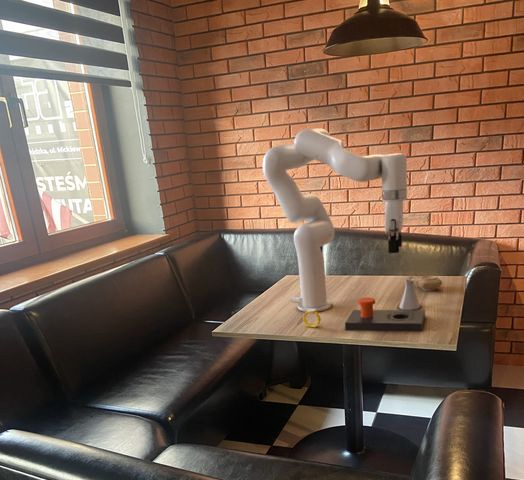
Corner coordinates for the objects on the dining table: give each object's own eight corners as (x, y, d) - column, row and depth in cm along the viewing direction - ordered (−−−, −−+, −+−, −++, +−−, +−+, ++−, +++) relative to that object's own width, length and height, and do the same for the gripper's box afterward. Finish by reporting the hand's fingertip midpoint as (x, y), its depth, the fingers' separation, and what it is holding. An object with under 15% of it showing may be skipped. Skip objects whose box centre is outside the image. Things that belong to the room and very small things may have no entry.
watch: (302, 327, 183) (301, 310, 181) (306, 324, 185) (305, 308, 183) (318, 328, 179) (317, 311, 177) (322, 326, 182) (320, 309, 179)
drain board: (345, 330, 175) (345, 322, 174) (353, 316, 187) (353, 309, 186) (421, 331, 167) (421, 323, 166) (424, 317, 179) (424, 310, 178)
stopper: (357, 318, 177) (356, 302, 175) (360, 313, 182) (359, 297, 180) (374, 318, 175) (373, 302, 173) (376, 313, 180) (376, 297, 178)
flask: (420, 310, 186) (420, 282, 183) (399, 311, 188) (399, 283, 185) (419, 304, 193) (419, 277, 190) (398, 305, 195) (398, 278, 191)
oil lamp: (407, 285, 219) (407, 273, 217) (444, 285, 213) (444, 273, 211) (402, 292, 210) (402, 280, 208) (441, 292, 204) (441, 279, 202)
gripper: (385, 193, 177) (386, 245, 183) (379, 199, 162) (380, 255, 168) (408, 191, 175) (409, 244, 181) (404, 197, 159) (405, 254, 165)
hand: (395, 249), depth 174 cm, fingers open, 9 cm apart
